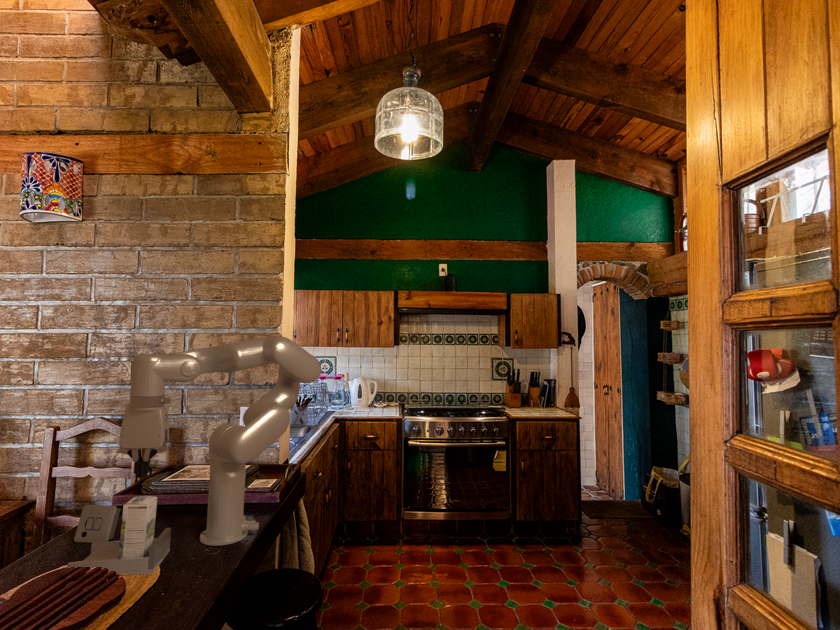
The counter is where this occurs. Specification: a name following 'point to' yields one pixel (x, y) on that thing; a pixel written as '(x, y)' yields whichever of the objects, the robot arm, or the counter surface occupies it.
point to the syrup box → (137, 527)
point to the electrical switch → (97, 523)
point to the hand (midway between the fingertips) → (141, 476)
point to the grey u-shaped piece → (108, 558)
